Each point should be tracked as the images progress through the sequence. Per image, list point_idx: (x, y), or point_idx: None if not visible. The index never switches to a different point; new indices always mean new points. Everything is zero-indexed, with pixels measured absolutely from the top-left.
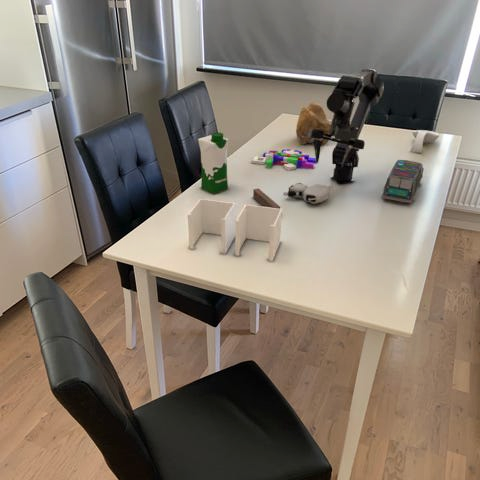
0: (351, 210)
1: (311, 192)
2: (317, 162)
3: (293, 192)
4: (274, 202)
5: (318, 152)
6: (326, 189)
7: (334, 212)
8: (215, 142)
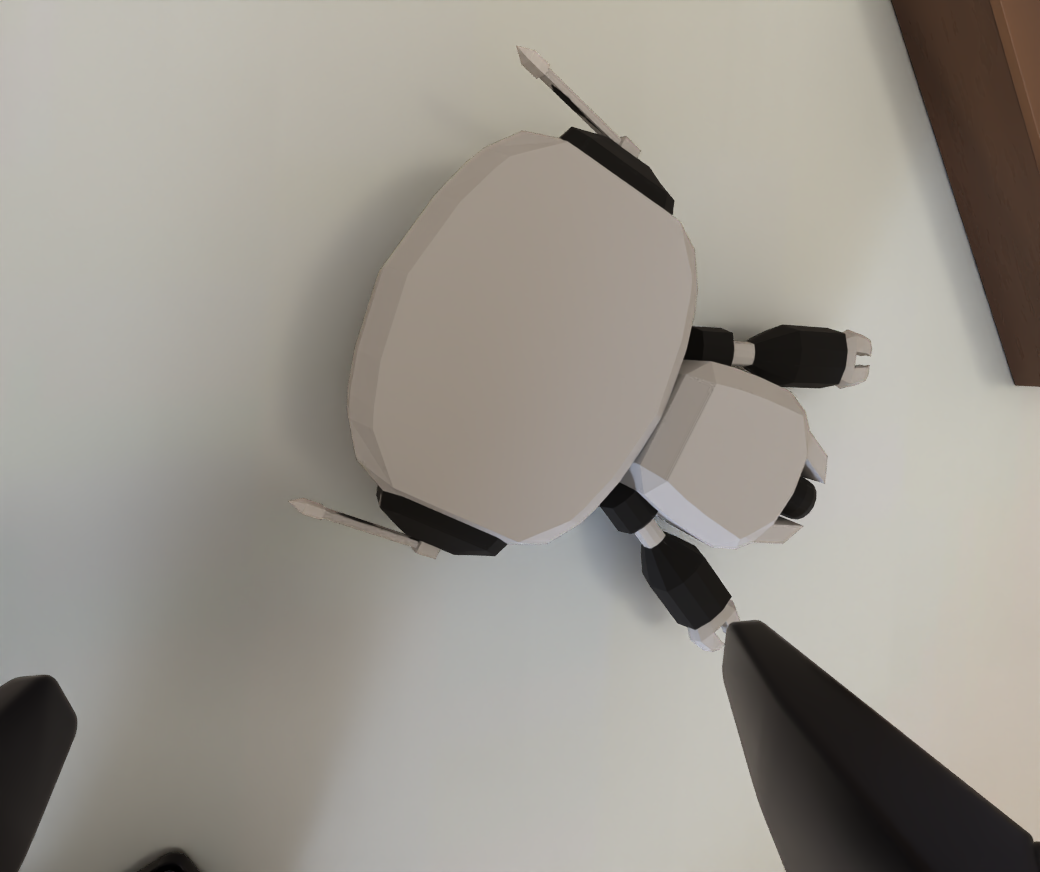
0: (58, 90)
1: (619, 240)
2: (736, 622)
3: (793, 334)
4: (1013, 17)
5: (966, 843)
6: (407, 334)
7: (298, 34)
8: None
